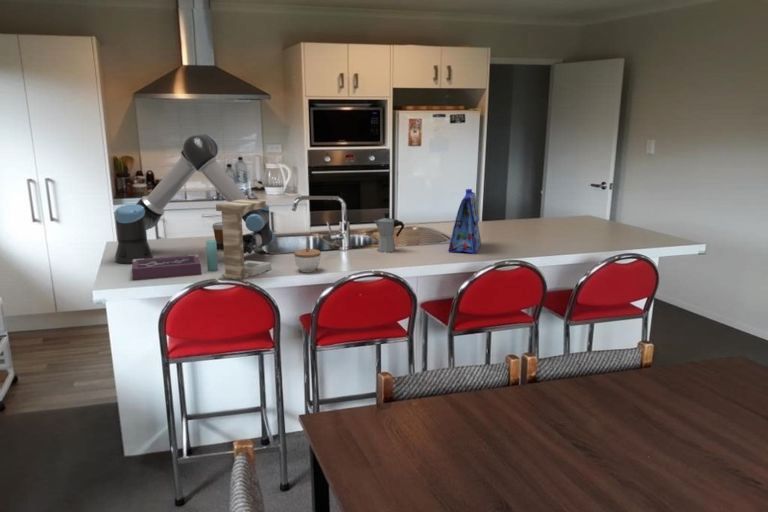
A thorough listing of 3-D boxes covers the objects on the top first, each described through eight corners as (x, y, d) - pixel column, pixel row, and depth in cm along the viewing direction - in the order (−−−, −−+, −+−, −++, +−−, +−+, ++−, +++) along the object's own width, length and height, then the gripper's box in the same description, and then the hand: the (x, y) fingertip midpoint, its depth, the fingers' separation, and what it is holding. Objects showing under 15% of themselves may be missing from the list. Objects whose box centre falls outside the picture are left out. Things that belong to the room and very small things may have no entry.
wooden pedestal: (243, 280, 222) (239, 206, 216) (218, 276, 227) (214, 204, 220) (268, 270, 237) (265, 201, 230) (244, 267, 242) (240, 199, 235)
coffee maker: (370, 251, 271) (370, 213, 266) (376, 247, 279) (376, 210, 275) (401, 254, 266) (401, 215, 262) (406, 249, 275) (406, 212, 270)
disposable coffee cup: (228, 251, 270) (227, 225, 267) (209, 250, 272) (208, 225, 269) (237, 246, 279) (236, 222, 276) (219, 245, 281) (217, 221, 278)
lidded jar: (296, 274, 231) (295, 251, 229) (293, 267, 241) (292, 245, 239) (323, 272, 234) (322, 250, 232) (318, 266, 244) (318, 244, 242)
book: (198, 265, 245) (198, 254, 244) (201, 275, 231) (200, 263, 229) (134, 271, 236) (132, 259, 235) (132, 281, 222) (131, 268, 220)
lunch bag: (476, 254, 267) (479, 192, 260) (447, 252, 270) (449, 190, 263) (481, 244, 287) (484, 186, 280) (454, 243, 291) (456, 185, 284)
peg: (209, 271, 235) (207, 242, 232) (206, 269, 238) (204, 240, 235) (219, 270, 237) (217, 241, 234) (216, 268, 240) (214, 239, 237)
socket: (253, 276, 228) (253, 270, 228) (229, 272, 233) (228, 266, 232) (271, 269, 239) (271, 263, 238) (247, 265, 244) (247, 260, 243)
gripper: (273, 252, 254) (244, 263, 235) (227, 247, 263) (195, 257, 244) (272, 236, 252) (243, 245, 233) (226, 231, 261) (193, 240, 242)
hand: (218, 252), depth 238 cm, fingers open, 13 cm apart
